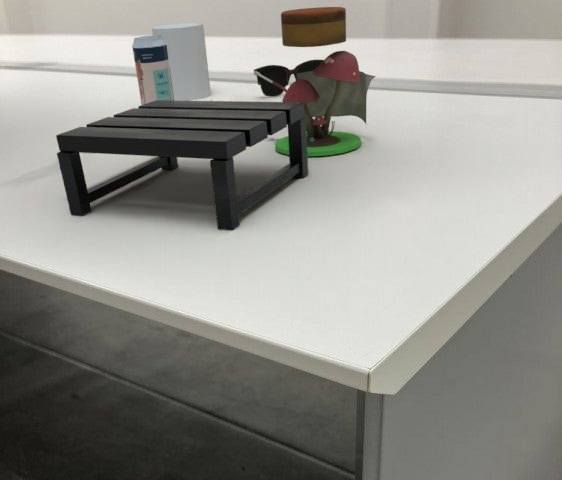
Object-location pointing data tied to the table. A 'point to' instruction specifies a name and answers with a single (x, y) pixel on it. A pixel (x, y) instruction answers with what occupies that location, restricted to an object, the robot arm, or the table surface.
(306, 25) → the mushroom figurine
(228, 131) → the rack
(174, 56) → the cup
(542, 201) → the table surface
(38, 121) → the table surface
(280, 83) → the sunglasses
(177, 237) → the table surface
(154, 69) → the beer can
